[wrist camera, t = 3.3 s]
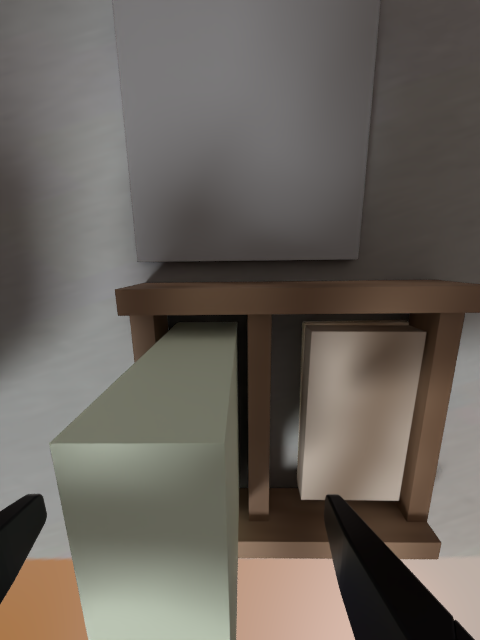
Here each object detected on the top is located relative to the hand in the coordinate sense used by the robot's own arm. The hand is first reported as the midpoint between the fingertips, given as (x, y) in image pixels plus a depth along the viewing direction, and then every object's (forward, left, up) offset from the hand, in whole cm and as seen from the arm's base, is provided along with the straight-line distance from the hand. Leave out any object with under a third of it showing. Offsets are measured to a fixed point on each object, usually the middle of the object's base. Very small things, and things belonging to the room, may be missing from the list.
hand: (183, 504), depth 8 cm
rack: (+4, 0, -6) cm, 7 cm away
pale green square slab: (0, 0, -6) cm, 6 cm away
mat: (+2, +12, -6) cm, 14 cm away
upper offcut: (+7, 0, -6) cm, 9 cm away
